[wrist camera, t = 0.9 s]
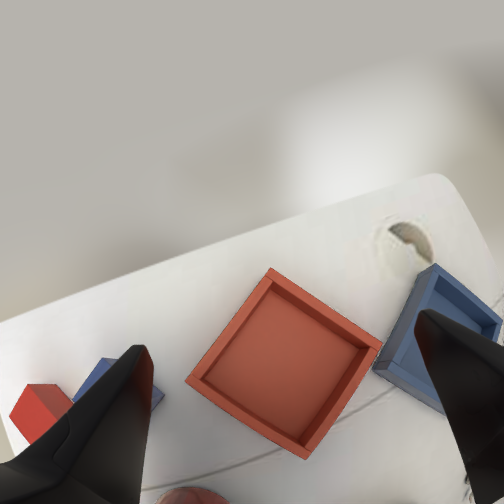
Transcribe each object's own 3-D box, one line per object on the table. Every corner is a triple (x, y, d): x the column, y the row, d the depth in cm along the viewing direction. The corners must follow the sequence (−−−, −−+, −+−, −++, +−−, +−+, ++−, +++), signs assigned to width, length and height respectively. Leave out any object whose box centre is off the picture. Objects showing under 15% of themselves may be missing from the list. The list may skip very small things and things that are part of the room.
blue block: (135, 431, 20) (115, 442, 16) (97, 396, 21) (71, 399, 17) (165, 394, 22) (148, 399, 18) (124, 359, 23) (102, 357, 18)
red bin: (298, 449, 20) (306, 460, 17) (191, 379, 22) (184, 381, 19) (368, 346, 24) (383, 342, 21) (267, 278, 26) (270, 266, 23)
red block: (67, 447, 19) (40, 456, 15) (36, 413, 20) (8, 416, 16) (88, 418, 20) (61, 425, 16) (56, 383, 21) (27, 383, 17)
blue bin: (447, 417, 21) (466, 419, 18) (371, 370, 23) (386, 369, 20) (484, 325, 24) (503, 320, 21) (419, 273, 26) (435, 262, 23)
